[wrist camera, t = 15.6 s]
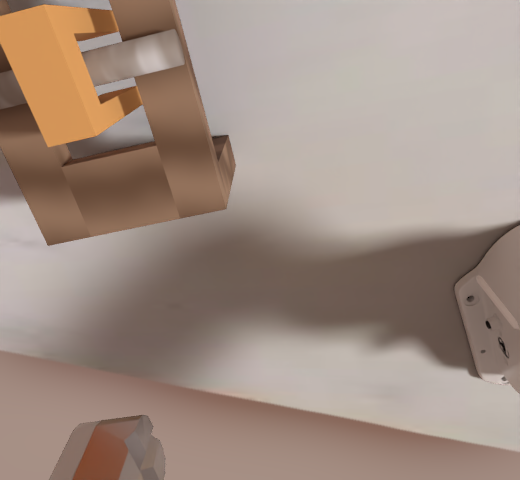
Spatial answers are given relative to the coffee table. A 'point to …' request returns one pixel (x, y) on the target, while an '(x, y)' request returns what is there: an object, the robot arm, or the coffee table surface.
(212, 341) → the coffee table surface
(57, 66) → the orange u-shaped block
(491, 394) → the coffee table surface
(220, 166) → the wooden table with hole
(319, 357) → the coffee table surface
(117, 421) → the robot arm
